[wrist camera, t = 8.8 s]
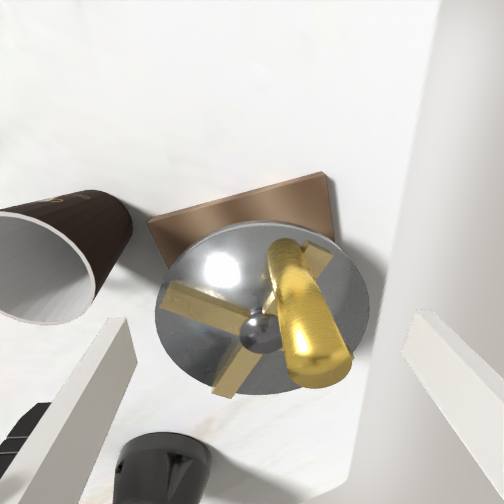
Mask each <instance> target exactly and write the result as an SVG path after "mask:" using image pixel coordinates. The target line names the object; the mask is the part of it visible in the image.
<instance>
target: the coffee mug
mask: <svg viewBox="0 0 504 504" xmlns="http://www.w3.org/2000/svg"><path fill="white" fill-rule="evenodd" d="M132 230H133V227H132V220H131V217H130V214H129V212H128V211H127V209H126V208H125V206H124V205H123V204H122V203H121V202H120V201H119V200H117V199H116V198H115V197H113V196H112V195H110V194H108V193H105V192H102V191H98V190H84V191H80V192H75V193H71V194H67V195H62V196H58V197H53V198H49V199H44V200H40V201H35V202H31V203H27V204H22V205H18V206H13V207H9V208H4V209H0V313H1V314H3V315H5V316H7V317H10V318H13V319H15V320H18V321H21V322H26V323H30V324H37V325H58V324H62V323H67V322H70V321H72V320H74V319H77V318H78V317H79V316H81V315H82V314H84V313H85V312H86V310H87V309H88V308H89V307H90V306H91V304H92V302H93V300H94V299H95V297H96V295H97V294H98V292H99V290H100V289H101V287H102V285H103V283H104V282H105V280H106V278H107V277H108V275H109V273H110V272H111V270H112V268H113V266H114V265H115V263H116V261H117V260H118V258H119V256H120V254H121V253H122V251H123V249H124V248H125V246H126V244H127V243H128V241H129V239H130V237H131V235H132Z"/></svg>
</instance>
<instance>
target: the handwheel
mask: <svg viewBox="0 0 504 504" xmlns="http://www.w3.org/2000/svg"><path fill="white" fill-rule="evenodd" d="M368 317H369V297H368V293H367V289H366V285H365V283H364V281H363V278H362V276H361V274H360V273H359V271H358V270H357V268H356V267H355V265H354V264H353V262H352V261H351V260H350V259H349V257H348V256H347V255H346V254H345V253H344V252H343V250H342V249H341V248H340V247H339V246H338V245H336V244H335V243H334V242H333V241H331V240H330V239H329V238H327V237H326V236H324V235H322V234H320V233H319V232H317V231H315V230H312V229H310V228H307V227H305V226H302V225H299V224H295V223H291V222H285V221H278V220H253V221H245V222H239V223H236V224H232V225H228V226H225V227H222V228H220V229H217V230H215V231H212V232H210V233H209V234H207V235H205V236H203V237H201V238H200V239H198V240H197V241H196V242H194V243H193V244H192V245H190V246H189V247H188V248H187V249H186V250H185V251H184V252H183V253H182V254H181V255H180V256H179V257H178V258H177V260H176V261H175V262H174V264H173V265H172V266H171V268H170V270H169V272H168V274H167V276H166V278H165V280H164V282H163V284H162V286H161V288H160V291H159V294H158V297H157V301H156V308H155V323H156V328H157V333H158V336H159V338H160V341H161V343H162V345H163V347H164V349H165V351H166V352H167V354H168V355H169V356H170V358H171V359H172V360H173V361H174V362H175V363H176V364H177V365H178V366H179V367H180V368H181V369H182V370H183V371H185V372H186V373H187V374H188V375H190V376H191V377H193V378H195V379H196V380H198V381H200V382H202V383H204V384H206V385H208V386H211V387H212V394H216V395H219V396H223V397H226V398H230V399H231V398H232V397H233V396H234V394H235V393H238V394H247V395H268V394H277V393H283V392H288V391H292V390H295V389H299V388H302V387H305V388H312V389H318V388H325V387H328V386H331V385H334V384H336V383H338V382H339V381H341V380H342V379H343V378H344V377H346V375H347V374H348V373H349V371H350V369H351V366H352V360H353V359H354V355H353V351H354V350H355V349H356V347H357V346H358V344H359V342H360V341H361V339H362V337H363V334H364V332H365V330H366V326H367V322H368Z"/></svg>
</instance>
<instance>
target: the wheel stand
mask: <svg viewBox="0 0 504 504" xmlns="http://www.w3.org/2000/svg"><path fill="white" fill-rule="evenodd" d="M253 220H278V221H285V222H291V223H295V224H299V225H302V226H305V227H307V228H310V229H312V230H315V231H317V232H319V233H320V234H322V235H324V236H326V237H327V238H329V239H330V240H331V241H333V242H334V243H335V240H334V233H333V225H332V218H331V210H330V203H329V196H328V188H327V181H326V174H324V173H323V172H318V173H314V174H310V175H307V176H303V177H299V178H296V179H292V180H288V181H285V182H281V183H277V184H273V185H270V186H266V187H262V188H259V189H255V190H251V191H248V192H244V193H240V194H237V195H233V196H229V197H226V198H222V199H218V200H215V201H211V202H207V203H203V204H200V205H196V206H192V207H189V208H185V209H181V210H178V211H174V212H170V213H167V214H163V215H159V216H156V217H152V218H151V219H150V220H149V221H148V222H147V225H148V227H149V229H150V231H151V233H152V235H153V237H154V240H155V242H156V244H157V246H158V248H159V250H160V252H161V254H162V257H163V259H164V261H165V263H166V265H167V267H168V269H169V270H170V268H171V266H172V265H173V264H174V262H175V261H176V260H177V258H178V257H179V256H180V255H181V254H182V253H183V252H184V251H185V250H186V249H187V248H188V247H189V246H190V245H192V244H193V243H194V242H196V241H197V240H198V239H200V238H201V237H203V236H205V235H207V234H209V233H210V232H212V231H215V230H217V229H220V228H222V227H225V226H228V225H232V224H236V223H239V222H245V221H253Z"/></svg>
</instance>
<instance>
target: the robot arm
mask: <svg viewBox="0 0 504 504" xmlns="http://www.w3.org/2000/svg"><path fill="white" fill-rule="evenodd" d="M401 355H402V357H403V358H404V359H405V361H406V362H407V364H408V365H409V366H410V368H411V369H412V371H413V372H414V374H415V375H416V376H417V378H418V379H419V380H420V382H421V384H422V385H423V386H424V388H425V389H426V391H427V392H428V394H429V395H430V396H431V398H432V399H433V401H434V402H435V404H436V405H437V406H438V408H439V409H440V411H441V412H442V413H443V415H444V416H445V418H446V419H447V420H448V422H449V423H450V425H451V426H452V428H453V429H454V431H455V432H456V433H457V435H458V436H459V438H460V439H461V440H462V442H463V443H464V445H465V446H466V447H467V449H468V450H469V452H470V453H471V455H472V456H473V458H474V459H475V460H476V462H477V463H478V465H479V466H480V468H481V469H482V470H483V472H484V473H485V475H486V476H487V478H488V479H489V480H490V482H491V483H492V485H493V486H494V488H495V489H496V490H497V492H498V493H499V495H500V496H501V497H502V499H503V500H504V380H503V378H501V376H499V375H498V374H497V373H496V372H495V371H494V370H493V369H492V368H491V367H490V366H489V365H488V364H487V363H486V362H485V361H484V360H483V359H482V358H481V357H480V356H479V355H478V354H477V353H476V352H475V351H474V350H473V349H471V348H470V347H469V346H468V345H467V344H466V343H465V342H464V341H463V340H462V339H461V338H460V337H459V336H458V335H457V334H456V333H455V332H454V331H453V330H452V329H451V328H450V327H449V326H448V325H447V324H446V323H445V322H444V321H442V319H441V318H439V317H438V316H437V315H436V314H435V313H434V312H433V311H432V310H415V313H414V316H413V319H412V322H411V325H410V328H409V331H408V334H407V337H406V340H405V343H404V346H403V349H402V352H401ZM137 363H138V362H137V358H136V354H135V350H134V346H133V342H132V338H131V335H130V331H129V327H128V323H127V319H126V318H108V320H107V321H106V323H105V324H104V326H103V327H102V329H101V330H100V332H99V333H98V335H97V336H96V338H95V339H94V340H93V342H92V343H91V345H90V346H89V348H88V349H87V351H86V352H85V354H84V355H83V357H82V358H81V360H80V361H79V363H78V364H77V366H76V367H75V369H74V370H73V372H72V373H71V375H70V376H69V378H68V379H67V381H66V382H65V384H64V385H63V387H62V388H61V390H60V391H59V393H58V394H57V396H56V397H55V399H54V400H53V402H49V403H37V404H36V405H35V406H34V407H33V408H32V409H30V410H29V411H28V412H27V413H26V414H25V415H24V416H22V417H21V418H20V419H19V421H18V422H17V423H16V425H15V426H14V428H13V429H12V430H11V432H10V433H9V434H8V436H7V439H6V440H4V441H3V442H2V444H1V445H0V504H78V502H79V500H80V497H81V495H82V493H83V490H84V488H85V486H86V483H87V481H88V478H89V476H90V474H91V471H92V469H93V467H94V464H95V462H96V460H97V457H98V455H99V453H100V450H101V448H102V445H103V443H104V441H105V438H106V436H107V434H108V431H109V429H110V427H111V424H112V422H113V420H114V417H115V415H116V412H117V410H118V408H119V405H120V403H121V401H122V398H123V396H124V394H125V391H126V389H127V387H128V384H129V382H130V379H131V377H132V375H133V372H134V370H135V368H136V365H137ZM210 465H211V456H210V453H209V451H208V450H207V448H206V447H205V446H204V445H202V444H201V443H200V442H198V441H196V440H194V439H192V438H189V437H186V436H183V435H179V434H172V433H153V434H146V435H142V436H139V437H137V438H134V439H132V440H131V441H129V442H128V443H127V444H126V445H125V446H124V447H123V448H122V450H121V453H120V456H119V459H118V461H117V464H116V469H115V480H114V492H113V504H199V503H200V500H201V498H202V495H203V492H204V489H205V487H206V484H207V481H208V478H209V474H210Z"/></svg>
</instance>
